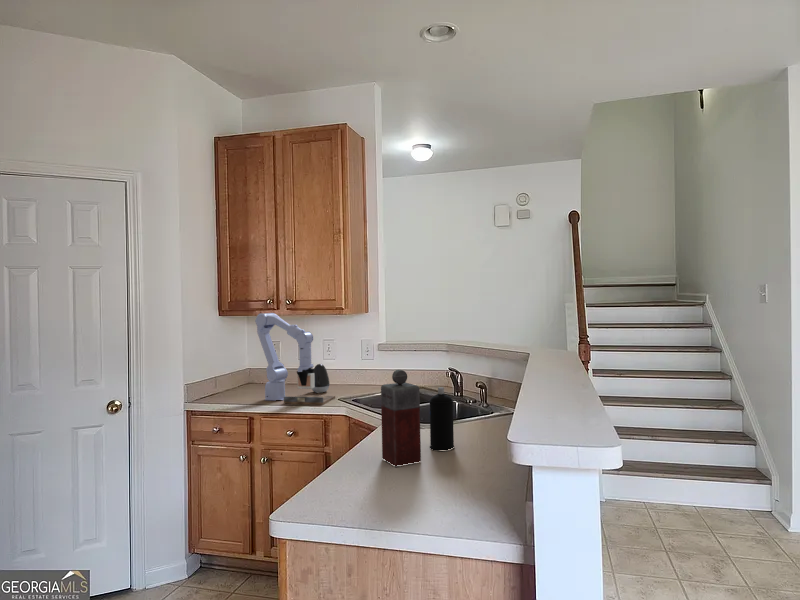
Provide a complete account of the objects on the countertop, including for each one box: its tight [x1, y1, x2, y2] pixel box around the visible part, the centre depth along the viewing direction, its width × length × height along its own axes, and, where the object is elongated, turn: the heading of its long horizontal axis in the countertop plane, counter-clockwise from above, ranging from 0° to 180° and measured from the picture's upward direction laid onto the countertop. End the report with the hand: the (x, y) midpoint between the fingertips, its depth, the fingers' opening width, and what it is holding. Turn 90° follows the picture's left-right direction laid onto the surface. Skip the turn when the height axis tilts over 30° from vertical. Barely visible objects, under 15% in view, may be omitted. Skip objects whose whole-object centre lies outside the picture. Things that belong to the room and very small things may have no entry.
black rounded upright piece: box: [311, 363, 331, 394], centre depth 285 cm, size 10×10×15 cm
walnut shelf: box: [283, 394, 336, 406], centre depth 261 cm, size 20×17×3 cm
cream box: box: [296, 373, 315, 390], centre depth 259 cm, size 5×7×7 cm
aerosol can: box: [428, 386, 455, 451], centre depth 175 cm, size 8×8×20 cm
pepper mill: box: [380, 369, 422, 466], centre depth 163 cm, size 9×11×28 cm
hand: (306, 384), depth 259 cm, fingers closed on cream box, 5 cm apart
